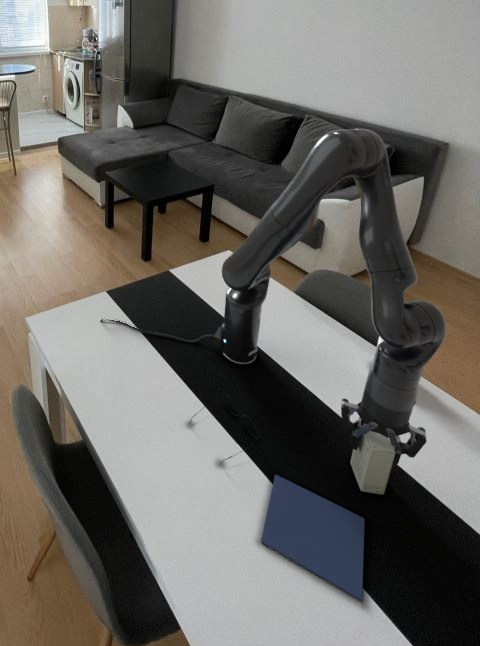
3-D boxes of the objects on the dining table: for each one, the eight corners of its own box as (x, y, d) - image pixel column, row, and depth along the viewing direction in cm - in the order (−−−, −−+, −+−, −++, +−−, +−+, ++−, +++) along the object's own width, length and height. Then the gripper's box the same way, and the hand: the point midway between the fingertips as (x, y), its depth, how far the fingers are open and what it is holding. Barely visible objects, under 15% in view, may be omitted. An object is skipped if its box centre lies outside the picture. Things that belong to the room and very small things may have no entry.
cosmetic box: (384, 495, 86) (397, 454, 81) (359, 491, 87) (371, 451, 82) (371, 464, 91) (383, 424, 87) (348, 460, 92) (358, 421, 88)
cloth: (260, 542, 80) (260, 541, 80) (275, 475, 91) (275, 474, 90) (361, 601, 71) (362, 600, 71) (364, 519, 82) (364, 518, 82)
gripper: (436, 394, 79) (415, 455, 85) (346, 363, 87) (333, 422, 93) (440, 426, 73) (417, 490, 80) (343, 391, 81) (330, 451, 87)
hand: (372, 453), depth 86 cm, fingers closed on cosmetic box, 5 cm apart
